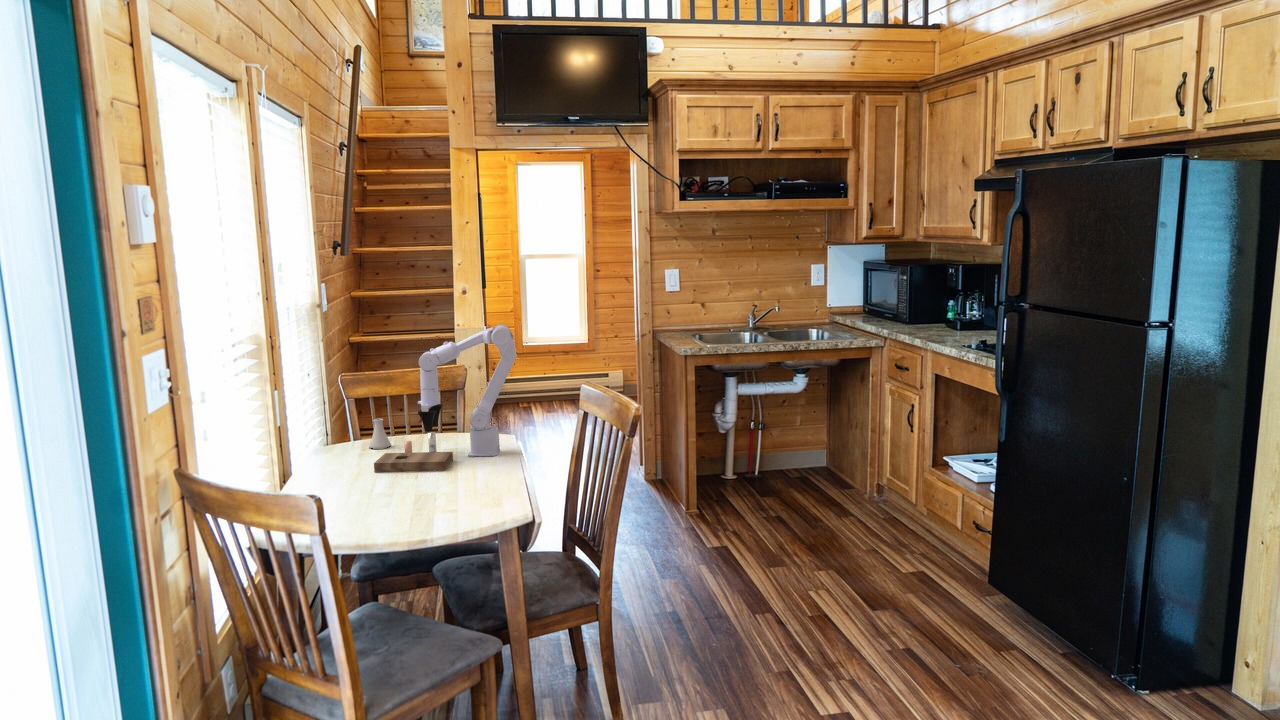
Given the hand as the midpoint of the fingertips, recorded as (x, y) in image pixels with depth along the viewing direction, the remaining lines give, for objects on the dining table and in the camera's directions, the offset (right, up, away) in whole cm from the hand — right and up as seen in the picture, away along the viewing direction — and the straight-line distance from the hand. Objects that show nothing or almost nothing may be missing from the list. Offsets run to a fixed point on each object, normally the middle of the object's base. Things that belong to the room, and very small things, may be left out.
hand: (431, 428), depth 278 cm
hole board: (-3, -11, -10) cm, 16 cm away
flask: (-22, -8, +15) cm, 28 cm away
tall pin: (0, -9, +1) cm, 10 cm away
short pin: (-9, -9, +4) cm, 13 cm away
